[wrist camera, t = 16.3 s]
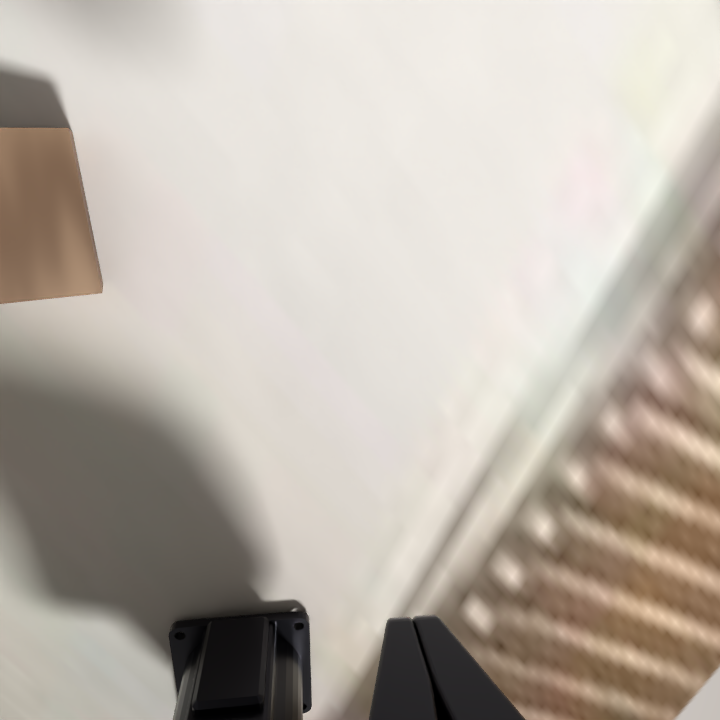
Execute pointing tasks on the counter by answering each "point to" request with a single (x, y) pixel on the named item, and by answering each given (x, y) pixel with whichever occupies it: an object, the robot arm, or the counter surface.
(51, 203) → the domino
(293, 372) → the counter surface
